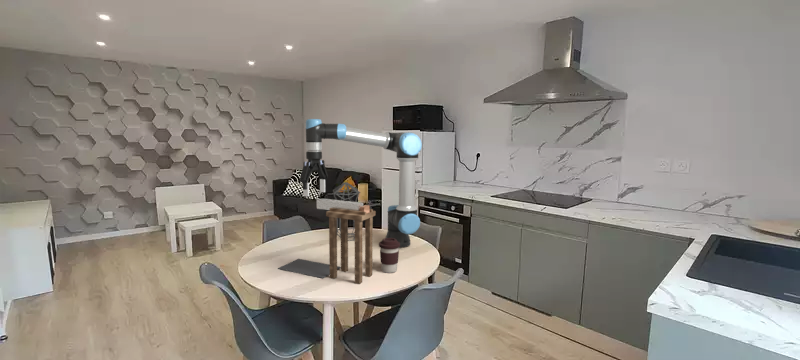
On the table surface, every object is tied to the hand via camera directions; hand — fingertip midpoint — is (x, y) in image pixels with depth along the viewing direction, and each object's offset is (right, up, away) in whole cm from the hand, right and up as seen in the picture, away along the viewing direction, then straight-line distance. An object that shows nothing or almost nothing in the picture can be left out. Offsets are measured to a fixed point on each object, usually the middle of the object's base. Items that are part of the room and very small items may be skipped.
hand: (314, 194), depth 186 cm
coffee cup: (+37, -36, -8) cm, 52 cm away
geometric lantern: (+10, -29, +42) cm, 52 cm away
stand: (+20, -37, -16) cm, 45 cm away
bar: (+15, -7, -18) cm, 24 cm away
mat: (-1, -35, -7) cm, 36 cm away
